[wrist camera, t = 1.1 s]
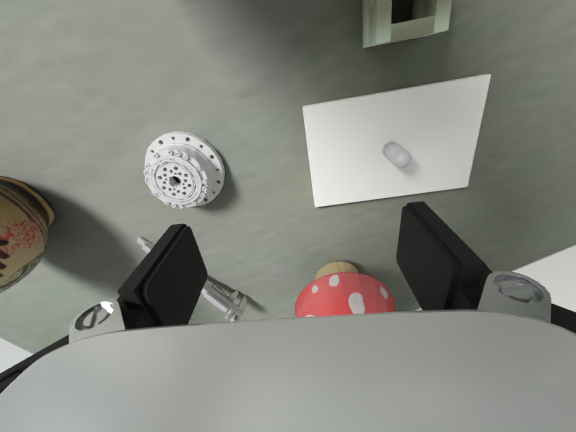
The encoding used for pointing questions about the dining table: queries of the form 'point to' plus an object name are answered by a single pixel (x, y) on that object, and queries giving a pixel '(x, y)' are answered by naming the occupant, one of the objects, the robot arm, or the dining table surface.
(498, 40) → the dining table surface
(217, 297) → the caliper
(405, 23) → the pale green open box
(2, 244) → the ceramic jug
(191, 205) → the mechanical component
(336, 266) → the decorative mushroom
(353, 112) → the pin board
